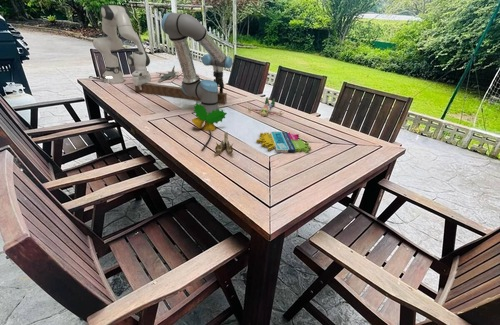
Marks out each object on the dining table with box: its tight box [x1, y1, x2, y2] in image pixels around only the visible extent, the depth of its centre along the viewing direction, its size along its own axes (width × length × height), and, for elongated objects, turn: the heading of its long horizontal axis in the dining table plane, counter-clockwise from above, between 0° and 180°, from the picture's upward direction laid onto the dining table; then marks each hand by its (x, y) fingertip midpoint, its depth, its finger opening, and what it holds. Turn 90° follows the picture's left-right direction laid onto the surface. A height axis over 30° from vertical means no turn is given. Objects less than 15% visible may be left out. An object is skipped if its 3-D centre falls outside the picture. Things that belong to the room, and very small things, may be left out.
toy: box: [246, 97, 284, 117], centre depth 201 cm, size 28×7×30 cm
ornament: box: [191, 102, 228, 132], centre depth 162 cm, size 21×8×15 cm, turn 105°
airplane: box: [157, 65, 184, 83], centre depth 276 cm, size 38×32×10 cm
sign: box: [256, 131, 312, 154], centre depth 152 cm, size 26×2×30 cm
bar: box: [134, 82, 228, 105], centre depth 219 cm, size 81×6×8 cm, turn 75°
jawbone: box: [214, 131, 234, 156], centre depth 136 cm, size 9×15×10 cm
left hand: (143, 89), depth 226 cm, fingers closed on bar, 5 cm apart
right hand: (218, 98), depth 213 cm, fingers open, 13 cm apart
